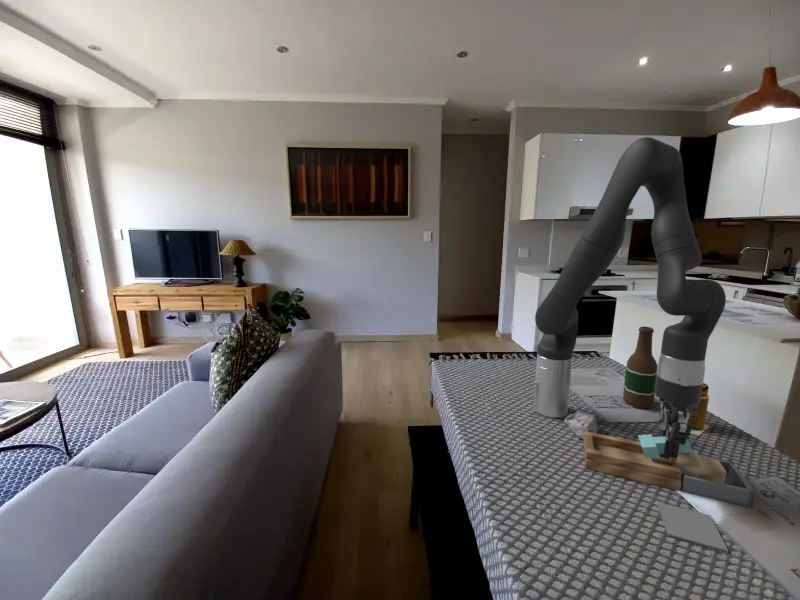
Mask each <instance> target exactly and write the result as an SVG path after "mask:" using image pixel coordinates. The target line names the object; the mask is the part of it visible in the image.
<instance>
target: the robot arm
mask: <svg viewBox="0 0 800 600" xmlns="http://www.w3.org/2000/svg"><path fill="white" fill-rule="evenodd" d="M684 177H685V175H684V164H683V159H682V154H681V151H679V150H678V148H676V147H674V146H672V145H670V144H669V143H665V142H664V141H661V140H659V139H656V138H653V137H648V136H645V137H639V139H637V140H635V141H633V142H632V143H631V144H630V145H629V146H628V147H627V148H626V149H625V150H624V151H623V153H622V155H620V158H619V159H618V161H617V163H616V166H615V168H614V170H613V172H612V174H611V177H610V179H609V181H608V184H607V186H606V188H605V190H604V192H603V195H602V197H601V199H600V201H599V203H598V205H597V206H596V209H595V210H594V212H593V214H592V216H591V218H590V220H589V221H588V223H587V225H586V227H585V229H584V230H583V231H582V234H581V236H580V237H579V239H578V241H576V244H575V245H574V247H573V249H572V252H571V254H570V255H569V258H568V259H567V261H566V263H565V264H564V266H563V268H562V270H561V272H560V274H559V276H558V278H557V279H556V282H555V284H554V285H553V287H552V288H551V289H550V291H549V292H548V294H547V295H546V296H545V298H544V300H542V302H541V303H540V305H539V307H537V309H536V312H535V314H534V315H535V316H534V320H535V321H534V322H535V325H536V327H537V330H539V332H541V333H542V337H541V339H540V341H539V342H538V344H537V352H536V370H535V380H534V394H533V409H532V410H533V412H535V413H538V414H540V415H542V416H544V417H549V418H554V419H557V418H559V419H560V418H564V417H565V418H566V417H567V416H568V415H569V414H568V413H569V404H570V403H569V402H570V390H571V377H572V376H571V375H572V364H573V352H574V350H575V347H576V343H577V338H578V337H577V336H578V328H579V311H578V309H577V305H578V303H579V301H580V300H581V298H582V297H583V296H584V295H585V293H586V292H587V291H588V290H590V288H591V287H592V286H593V285H594V284H595V283H596V282H597V280H598V279H599V278H600V277H602V275H603V274H604V273H605V271H606V270H607V269H608V268H609V267H610V265H611V263H612V261H614V259H615V257H616V256H617V254H618V252H619V251H620V250H621V247H622V245H623V244H624V243H623V242H624V239H625V234H626V225H627V215H628V211H629V208H630V206H631V204H632V201H633V200H634V197H636V194H637V193H638V191H639V190H640V188H641V187H645V189H646V190H647V192H648V194H649V197H650V198H651V201H652V205H653V212H654V214H653V219H652V223H651V230H650V231H651V233H650V234H651V235H650V237H651V244H652V248H653V251H654V254H655V258H656V261H657V265H658V267H657V268H658V269H657V285H656V301H657V302H658V305H659V307H660V308H661V309H662V311H664V313H666V314H668V315H670V316H675V317H677V316H680V317H681V316H684V317H683V319H682V320H681V321H680V322H678V323H675V324H670V325H669V326H667V327H666V328H664V331H663V334H662V340H661V341H662V342H661V348H660V349H661V350H660V354H659V358H658V362H657V374H656V382H655V390H654V392H655V395H656V396H657V397H658V400H659V424H660V430H661V436H660V437H664V436H666V441H665V449H664V454H665V456H667V457H672V458H677V457H678V451H679V444H682V445H685V443H686V441H687V438H688V439H689V436H690V434H691V433H690V432H691V429H692V427H691V424H687V420H688V419H689V411H688V410H687V407H688V406H690V405H696V404H698V403H699V402H700V400H701V393H702V387H703V383H704V380H705V374H706V357H707V356H706V355H707V349H708V343H709V342H708V341H709V338H710V337H711V335H712V333H713V332H714V330H715V328H716V326H717V324H718V322H719V320H720V318H721V316H722V314H723V313H724V310H725V307H726V303H727V296H726V292H725V289H724V288H723V285H721V284H720V283H719V282H717V281H715V280H712V279H705V278H704V279H687V278H686V272H687V271H690V270H692V269H693V270H694V269H696V268H697V267H699V266H700V265H701V264H702V261H703V257H702V253H701V249H700V246H699V244H698V240H697V237H696V235H695V230H694V228H693V224H692V222H691V221H692V220H691V217H690V213H689V209H688V203H687V202H688V201H687V194H686V187H685V178H684Z"/></svg>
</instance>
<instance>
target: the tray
mask: <svg viewBox="0 0 800 600" xmlns="http://www.w3.org/2000/svg"><path fill="white" fill-rule="evenodd" d="M698 455H699V456H702V457H706V458H710V459H714V460H718V461H719V462H720V463H721V465H722V466H723V468H724V469H725V471H726V472H727V474H726V477H725V481H724V484H723V483H719V482H714V481H709V480H705V479H700V478H696V477H691V476H687V475H683V474H681V487H680V490H681V491H682V492H684V493H688V494H691V495H696V496H701V497H705V498H709V499H714V500H717V501H722V502H726V503H731V504H736V505H738V504H742V505H741V506H743V505H746V506H745V507H747V506H750V507H749V508H751V507H753V508H754V505H755V499H756V492H755V490H754V488H753V487H752V486H751V485H750V483H749V482H748V481H747V479H746V478H745V476H744V475H743V473H742V472H741V471H740V469H739V468H738V467H737V465H736V464H735V462H734V461H731V460H726V459H720V458H716V457H710V456H705V455H701V454H698Z"/></svg>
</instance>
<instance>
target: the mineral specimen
mask: <svg viewBox="0 0 800 600" xmlns="http://www.w3.org/2000/svg"><path fill="white" fill-rule="evenodd" d="M563 422H564V423H565V425H566V426H567V428H568V429H569V431H572V432H573V433H574V434H575V435H576V436H577V437H578V438H580V439H582V440H583V441H584V433H585V431H586V432H591V433H596V434H599V432H598V431H599V430H598V422H597V417H596V415H594V414H591V413H588V411H582V410H576V411H575V412H574V413H570V414H568V415H566V416H565V418H564V421H563Z"/></svg>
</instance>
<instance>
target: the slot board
mask: <svg viewBox="0 0 800 600" xmlns="http://www.w3.org/2000/svg"><path fill="white" fill-rule="evenodd" d="M582 445H583V446H582V447H583V456H584V457H583V458H584V468H585V469H587V470H590V471H595V472H600V473H602V474H608V475H610V476H611V475H612V476H615V477H616V476H617V477H620V478H625V479H628V480H629V479H630V480H632V481H638V482H642V483H646V484H650V485H653V486H659V487H662V488H667V489H671V490H676V491H681V474H682V472H681V470H680V468H677V467H672V466H671V464H670V462H669V458H670V457H667V456H665V454H659V456H660V458H645V455H644V452H643V450H642V447H641V444H640V441H637V440H631V439H626V438H621V437H616V436H611V435H607V434H606V435H605V434H600V433H598V434H596V433H591V432H586V431H585V433H584V440H583V444H582Z"/></svg>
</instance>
